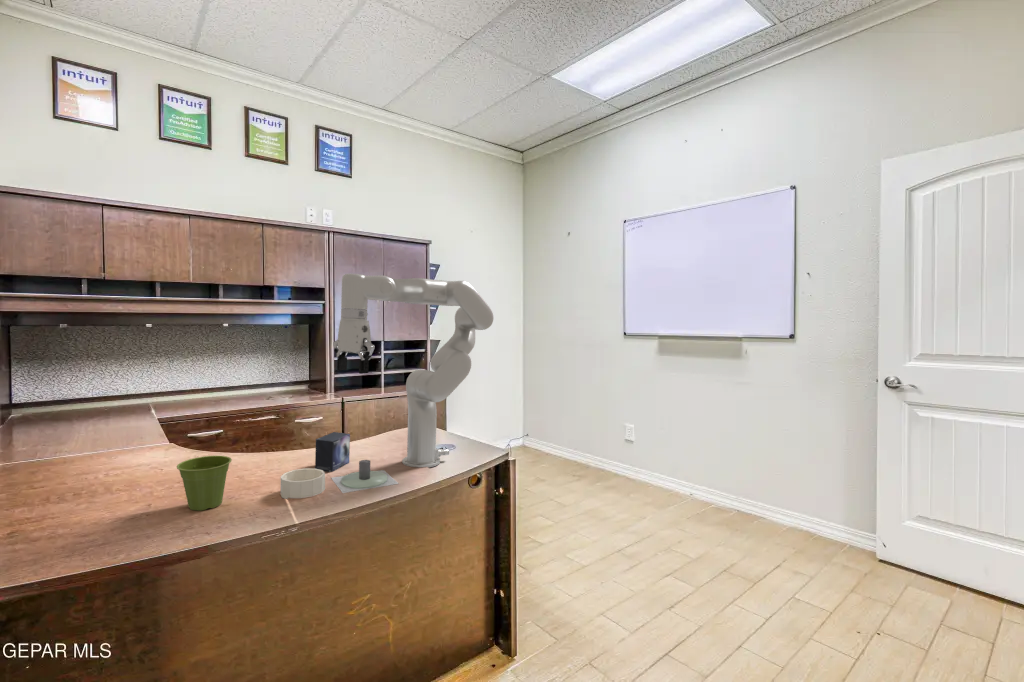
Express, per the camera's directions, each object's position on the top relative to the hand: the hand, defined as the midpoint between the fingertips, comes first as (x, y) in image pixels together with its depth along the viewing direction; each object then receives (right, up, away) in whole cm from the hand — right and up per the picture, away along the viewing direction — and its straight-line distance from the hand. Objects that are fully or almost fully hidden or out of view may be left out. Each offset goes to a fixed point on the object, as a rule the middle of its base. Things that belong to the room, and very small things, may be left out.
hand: (352, 371), depth 148 cm
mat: (+5, -33, -3) cm, 33 cm away
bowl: (-10, -33, -12) cm, 36 cm away
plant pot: (-30, -33, -23) cm, 50 cm away
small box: (-9, -32, +9) cm, 34 cm away
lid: (+5, -32, -3) cm, 33 cm away
